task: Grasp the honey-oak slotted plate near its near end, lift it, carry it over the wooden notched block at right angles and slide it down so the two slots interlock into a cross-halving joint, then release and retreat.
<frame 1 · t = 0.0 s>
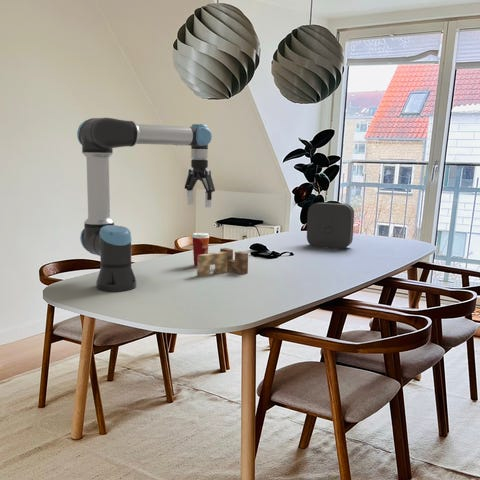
hand: (199, 205, 247), 28 cm above the table, fingers open, 13 cm apart
coffee cup: (200, 265, 251), on the table
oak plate: (212, 273, 235), on the table
speaker: (328, 247, 307), on the table
wooden notched block: (233, 270, 242), on the table
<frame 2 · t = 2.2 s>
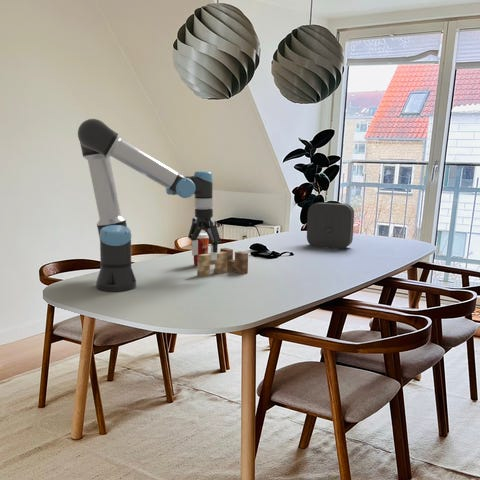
hand: (204, 257, 230), 8 cm above the table, fingers open, 13 cm apart
nothing on the table moved.
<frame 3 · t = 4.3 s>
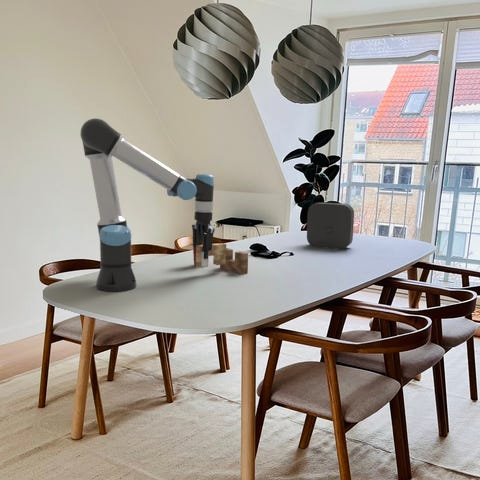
hand: (201, 265, 231), 4 cm above the table, fingers closed on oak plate, 3 cm apart
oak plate: (210, 265, 234), point 4 cm above the table, touching gripper
everything else where it was.
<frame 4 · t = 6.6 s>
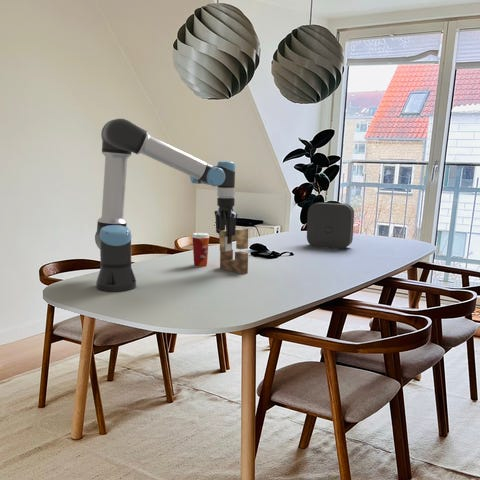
hand: (225, 250, 238), 10 cm above the table, fingers closed on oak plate, 3 cm apart
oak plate: (234, 249, 241), point 10 cm above the table, touching gripper
everything else where it was.
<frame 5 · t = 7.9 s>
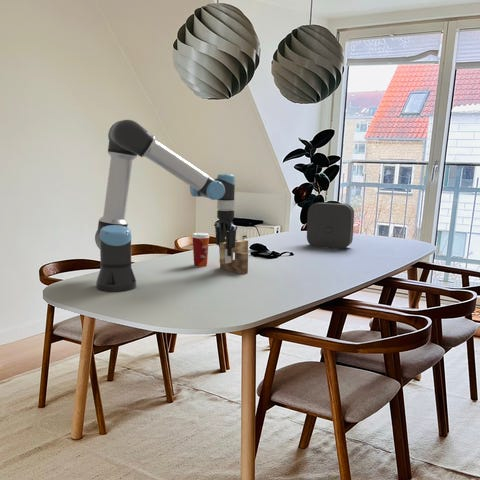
hand: (225, 262, 239), 4 cm above the table, fingers closed on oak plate, 3 cm apart
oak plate: (233, 261, 242), point 4 cm above the table, touching gripper
everything else where it was.
when the fingers open (1 cm above the table, at t = 8.8 s): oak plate stays where it is, resting on wooden notched block.
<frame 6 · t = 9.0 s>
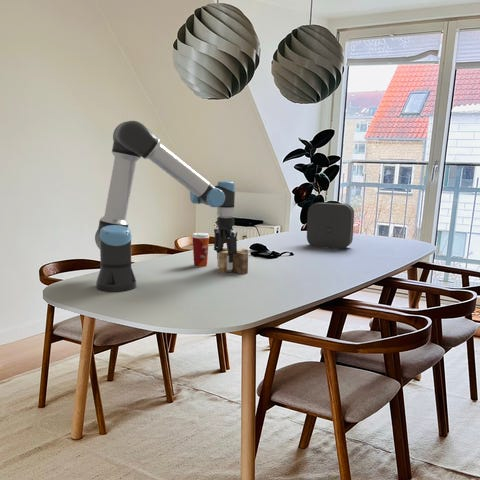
hand: (224, 268, 239), 2 cm above the table, fingers open, 6 cm apart
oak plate: (233, 270, 242), resting on wooden notched block
everything else where it was.
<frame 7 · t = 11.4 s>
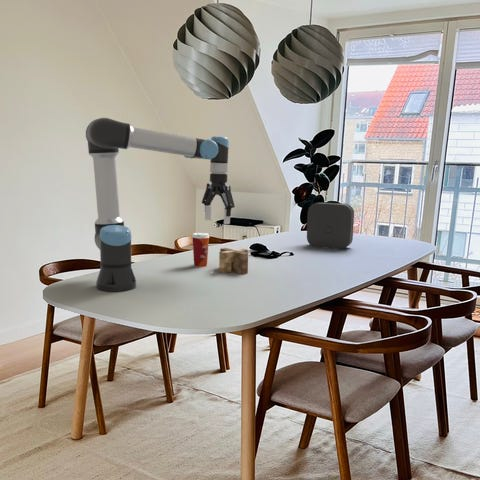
hand: (217, 222, 235), 22 cm above the table, fingers open, 13 cm apart
nothing on the table moved.
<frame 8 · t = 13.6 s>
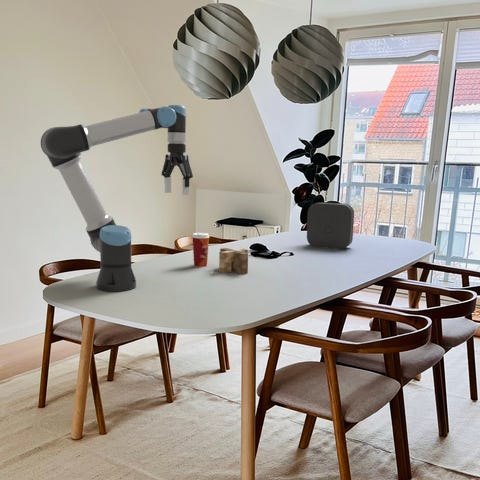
hand: (176, 193, 229), 35 cm above the table, fingers open, 13 cm apart
nothing on the table moved.
at the end: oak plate 0.1 cm off-centre on the wooden notched block, point 0.0 cm above the wooden notched block's base; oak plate tilted 0°; the gripper is holding nothing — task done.
